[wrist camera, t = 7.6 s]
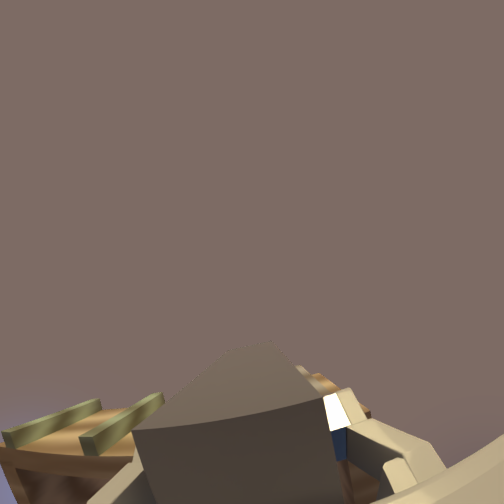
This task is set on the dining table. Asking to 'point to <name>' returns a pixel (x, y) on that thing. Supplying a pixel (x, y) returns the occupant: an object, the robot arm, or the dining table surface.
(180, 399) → the grey brown bar
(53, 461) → the pine shelf
